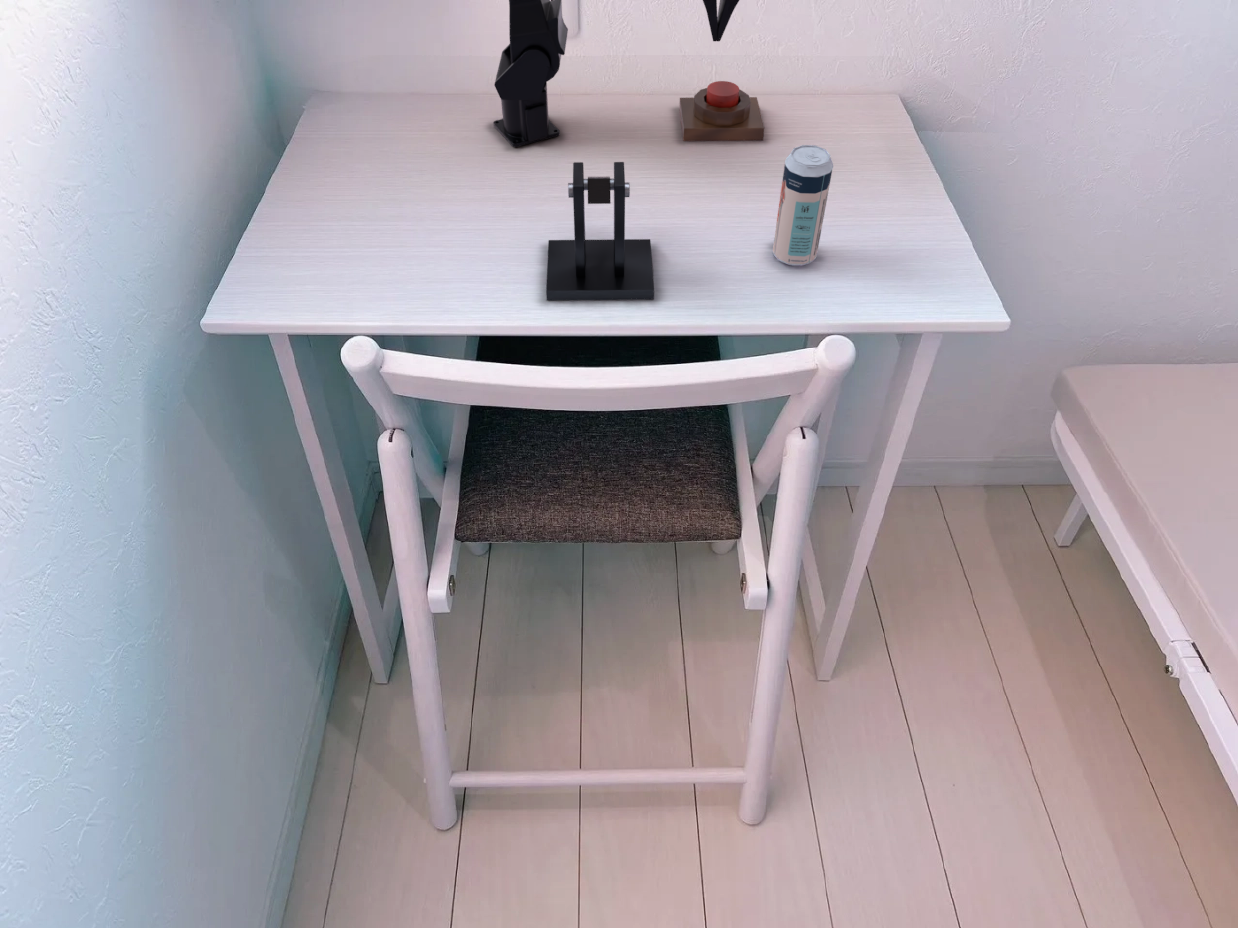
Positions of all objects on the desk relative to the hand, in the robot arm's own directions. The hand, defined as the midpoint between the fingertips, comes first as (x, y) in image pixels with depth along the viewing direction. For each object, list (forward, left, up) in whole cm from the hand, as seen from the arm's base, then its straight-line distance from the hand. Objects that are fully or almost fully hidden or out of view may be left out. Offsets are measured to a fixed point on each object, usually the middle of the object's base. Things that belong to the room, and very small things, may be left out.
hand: (716, 40), depth 115 cm
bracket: (+19, -26, -12) cm, 34 cm away
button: (-1, +3, -9) cm, 9 cm away
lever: (+16, -24, -5) cm, 30 cm away
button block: (-1, +3, -12) cm, 12 cm away
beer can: (+26, -6, -12) cm, 30 cm away
